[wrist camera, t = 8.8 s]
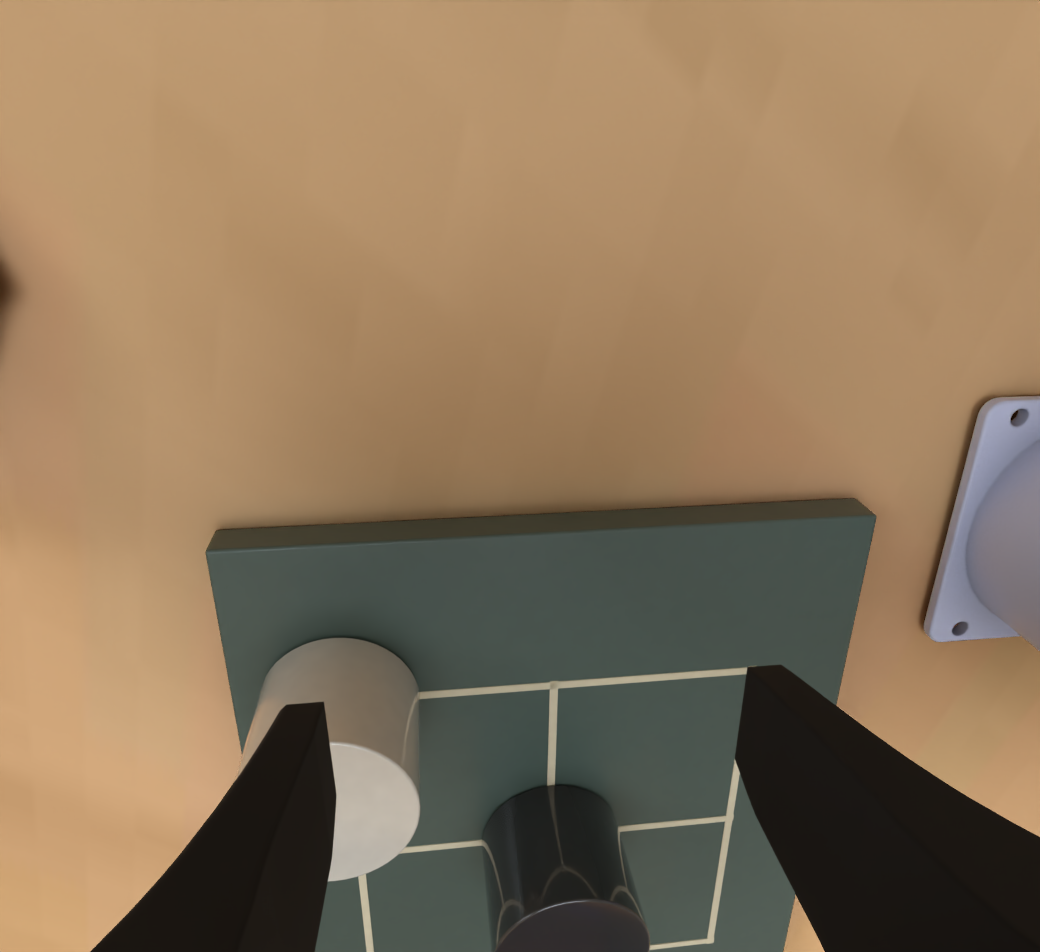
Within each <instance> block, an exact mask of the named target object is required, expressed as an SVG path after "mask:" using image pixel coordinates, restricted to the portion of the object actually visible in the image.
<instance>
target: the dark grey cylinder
mask: <svg viewBox="0 0 1040 952" xmlns="http://www.w3.org/2000/svg"><path fill="white" fill-rule="evenodd" d="M481 846H482V857H483V867H484V878H485V889H486V900H487V911H488V922H489V933H490V944H491V952H649V949H650V935H649V930H648V927H647V923H646V920H645V916H644V913H643V910H642V906H641V903H640V899H639V896H638V893H637V889H636V886H635V882H634V879H633V875H632V872H631V869H630V865H629V862H628V858H627V855H626V852H625V848H624V845H623V841H622V838H621V834H620V831H619V828H618V824H617V821H616V818H615V815H614V813H613V811H612V809H611V808H610V806H609V805H608V804H607V803H606V802H605V801H604V800H603V799H602V798H600V797H599V796H598V795H596V794H594V793H593V792H590V791H588V790H586V789H582V788H579V787H574V786H566V785H552V786H544V787H539V788H535V789H532V790H529V791H526V792H523V793H521V794H519V795H517V796H515V797H513V798H512V799H510V800H508V801H507V802H506V803H504V804H503V805H502V806H501V807H500V808H499V809H497V810H496V811H495V813H494V814H493V815H492V816H491V818H490V819H489V821H488V823H487V824H486V827H485V829H484V832H483V836H482V843H481Z"/></svg>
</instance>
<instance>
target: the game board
mask: <svg viewBox="0 0 1040 952" xmlns="http://www.w3.org/2000/svg"><path fill="white" fill-rule="evenodd" d="M875 522H876V515H875V514H874V513H873V512H872V511H870V510H869V509H868V508H867V507H866V506H864V505H863V504H862V503H861V502H859V501H858V500H857V499H855V498H850V499H830V500H810V501H790V502H770V503H750V504H730V505H710V506H690V507H670V508H650V509H630V510H610V511H591V512H571V513H551V514H531V515H511V516H491V517H471V518H451V519H431V520H411V521H391V522H371V523H351V524H331V525H311V526H291V527H271V528H251V529H231V530H218V531H216V532H215V534H214V536H213V538H212V540H211V542H210V544H209V546H208V548H207V550H206V558H207V563H208V569H209V574H210V580H211V586H212V591H213V597H214V602H215V608H216V613H217V619H218V624H219V630H220V635H221V641H222V646H223V652H224V657H225V663H226V668H227V674H228V679H229V685H230V690H231V696H232V702H233V707H234V713H235V718H236V724H237V729H238V735H239V740H240V746H241V751H242V753H243V750H244V746H245V743H246V739H247V735H248V732H249V728H250V725H251V721H252V718H253V714H254V711H255V707H256V704H257V700H258V696H259V693H260V689H261V686H262V683H263V681H264V679H265V677H266V675H267V674H268V672H269V670H270V669H271V668H272V667H273V666H274V664H275V663H276V662H277V661H278V660H280V659H281V658H282V657H283V656H284V655H286V654H287V653H289V652H290V651H292V650H293V649H295V648H297V647H299V646H301V645H304V644H307V643H310V642H312V641H317V640H321V639H327V638H354V639H360V640H365V641H368V642H371V643H374V644H377V645H379V646H381V647H383V648H385V649H387V650H389V651H390V652H392V653H393V654H395V655H396V656H397V657H398V658H400V659H401V660H402V661H403V662H404V663H405V664H406V665H407V667H408V668H409V670H410V671H411V672H412V674H413V676H414V678H415V680H416V682H417V685H418V688H419V694H420V782H421V811H420V819H419V823H418V826H417V828H416V831H415V833H414V835H413V837H412V838H411V840H410V842H409V843H408V844H407V846H406V847H405V848H404V849H403V850H402V851H401V852H400V853H399V854H398V855H397V856H396V857H395V858H393V859H392V860H391V861H389V862H388V863H386V864H385V865H383V866H381V867H380V868H378V869H376V870H374V871H371V872H369V873H367V874H364V875H361V876H358V877H354V878H350V879H346V880H339V881H330V882H328V883H327V889H326V894H325V900H324V905H323V911H322V916H321V921H320V927H319V932H318V937H317V943H316V948H315V952H491V944H490V933H489V922H488V911H487V900H486V889H485V878H484V867H483V857H482V846H481V843H482V836H483V832H484V829H485V827H486V824H487V823H488V821H489V819H490V818H491V816H492V815H493V814H494V813H495V811H496V810H497V809H499V808H500V807H501V806H502V805H503V804H504V803H506V802H507V801H508V800H510V799H512V798H513V797H515V796H517V795H519V794H521V793H523V792H526V791H529V790H532V789H535V788H539V787H544V786H552V785H566V786H574V787H579V788H582V789H586V790H588V791H590V792H593V793H594V794H596V795H598V796H599V797H600V798H602V799H603V800H604V801H605V802H606V803H607V804H608V805H609V806H610V808H611V809H612V811H613V813H614V815H615V818H616V821H617V824H618V828H619V831H620V834H621V838H622V841H623V845H624V848H625V852H626V855H627V858H628V862H629V865H630V869H631V872H632V875H633V879H634V882H635V886H636V889H637V893H638V896H639V899H640V903H641V906H642V910H643V913H644V916H645V920H646V923H647V927H648V930H649V935H650V949H649V952H783V950H784V946H785V941H786V936H787V932H788V927H789V922H790V918H791V913H792V908H793V904H794V899H795V892H794V890H793V888H792V886H791V884H790V882H789V880H788V878H787V876H786V874H785V873H784V871H783V869H782V867H781V865H780V863H779V861H778V859H777V857H776V855H775V853H774V851H773V849H772V847H771V845H770V843H769V841H768V839H767V837H766V835H765V833H764V831H763V829H762V827H761V825H760V823H759V821H758V819H757V817H756V815H755V813H754V810H753V808H752V805H751V802H750V800H749V797H748V795H747V792H746V789H745V786H744V784H743V781H742V778H741V775H740V772H739V769H738V766H737V764H736V761H735V752H736V745H737V738H738V730H739V723H740V716H741V709H742V702H743V695H744V688H745V680H746V673H747V667H755V666H768V665H780V664H781V665H783V666H784V667H785V668H787V669H788V670H790V671H791V672H792V673H794V674H795V675H797V676H798V677H799V678H801V679H802V680H803V681H805V682H806V683H807V684H808V685H810V686H811V687H812V688H814V689H815V690H816V691H818V692H819V693H820V694H822V695H823V696H824V697H825V698H827V699H828V700H829V701H831V702H832V703H833V704H835V705H836V704H837V699H838V694H839V690H840V685H841V680H842V676H843V671H844V666H845V662H846V657H847V652H848V648H849V643H850V638H851V634H852V629H853V624H854V620H855V615H856V611H857V606H858V601H859V597H860V592H861V587H862V583H863V578H864V573H865V569H866V564H867V559H868V555H869V550H870V545H871V541H872V536H873V531H874V527H875Z"/></svg>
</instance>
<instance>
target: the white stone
mask: <svg viewBox="0 0 1040 952" xmlns="http://www.w3.org/2000/svg"><path fill="white" fill-rule="evenodd" d="M312 702H324V706H325V713H326V720H327V728H328V735H329V743H330V750H331V757H332V765H333V772H334V780H335V787H336V794H337V798H336V813H335V827H334V840H333V853H332V861H331V867H330V872H329V878H328V882H330V881H339V880H346V879H350V878H354V877H358V876H361V875H364V874H367V873H369V872H371V871H374V870H376V869H378V868H380V867H381V866H383V865H385V864H386V863H388V862H389V861H391V860H392V859H393V858H395V857H396V856H397V855H398V854H399V853H400V852H401V851H402V850H403V849H404V848H405V847H406V846H407V844H408V843H409V842H410V840H411V838H412V837H413V835H414V833H415V831H416V828H417V826H418V823H419V819H420V811H421V782H420V694H419V688H418V685H417V682H416V680H415V678H414V676H413V674H412V672H411V671H410V670H409V668H408V667H407V665H406V664H405V663H404V662H403V661H402V660H401V659H400V658H398V657H397V656H396V655H395V654H393V653H392V652H390V651H389V650H387V649H385V648H383V647H381V646H379V645H377V644H374V643H371V642H368V641H365V640H360V639H354V638H327V639H321V640H317V641H312V642H310V643H307V644H304V645H301V646H299V647H297V648H295V649H293V650H292V651H290V652H289V653H287V654H286V655H284V656H283V657H282V658H281V659H280V660H278V661H277V662H276V663H275V664H274V666H273V667H272V668H271V669H270V670H269V672H268V674H267V675H266V677H265V679H264V681H263V683H262V686H261V689H260V693H259V696H258V700H257V704H256V707H255V711H254V714H253V718H252V721H251V725H250V728H249V732H248V735H247V739H246V743H245V746H244V750H243V753H242V757H241V760H240V764H239V767H238V771H237V774H236V778H235V780H236V779H237V778H238V776H239V775H240V773H241V772H242V770H243V769H244V767H245V766H246V764H247V763H248V761H249V760H250V758H251V757H252V755H253V754H254V752H255V751H256V749H257V748H258V746H259V744H260V743H261V741H262V740H263V738H264V736H265V735H266V733H267V731H268V730H269V728H270V727H271V725H272V723H273V722H274V720H275V718H276V716H277V715H278V713H279V711H280V710H281V709H282V708H283V707H284V706H285V705H287V704H300V703H312ZM234 782H235V781H234Z"/></svg>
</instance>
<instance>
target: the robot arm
mask: <svg viewBox="0 0 1040 952" xmlns="http://www.w3.org/2000/svg"><path fill="white" fill-rule="evenodd" d="M1017 410H1018V414H1017V416H1016V418H1014V419H1013V420H1012V421H1011V416H1012V415H1013V413H1014V412H1015V411H1017ZM957 623H958V625H957V626H955V627H954V625H956V624H957ZM953 627H954V628H953ZM924 631H925V633H926V634H927V635H928V636H929V637H930V638H931V639H932V640H934V641H935V642H949V641H962V640H976V639H989V638H1003V637H1016V636H1022V637H1023V638H1024V639H1025V640H1027V641H1028V642H1029V643H1030V644H1031V645H1033V646H1034V647H1035V648H1036V649H1038V650H1039V651H1040V396H1020V397H998V398H993V399H991V400H989V401H988V402H986V403H985V404H984V405H983V406H982V408H981V409H980V411H979V414H978V416H977V420H976V424H975V428H974V432H973V436H972V440H971V443H970V447H969V451H968V455H967V459H966V463H965V467H964V471H963V474H962V478H961V482H960V486H959V490H958V494H957V498H956V501H955V505H954V509H953V513H952V517H951V521H950V525H949V529H948V532H947V536H946V540H945V544H944V548H943V552H942V556H941V559H940V563H939V567H938V571H937V575H936V579H935V583H934V587H933V590H932V594H931V598H930V602H929V606H928V610H927V614H926V617H925V621H924ZM735 761H736V764H737V766H738V769H739V772H740V775H741V778H742V781H743V784H744V786H745V789H746V792H747V795H748V797H749V800H750V802H751V805H752V808H753V810H754V813H755V815H756V817H757V819H758V821H759V823H760V825H761V827H762V829H763V831H764V833H765V835H766V837H767V839H768V841H769V843H770V845H771V847H772V849H773V851H774V853H775V855H776V857H777V859H778V861H779V863H780V865H781V867H782V869H783V871H784V873H785V874H786V876H787V878H788V880H789V882H790V884H791V886H792V888H793V890H794V892H795V894H796V896H797V898H798V900H799V902H800V903H801V905H802V907H803V909H804V911H805V913H806V915H807V917H808V919H809V921H810V923H811V925H812V927H813V929H814V931H815V933H816V934H817V936H818V938H819V940H820V942H821V945H822V947H823V949H824V951H825V952H1040V837H1039V836H1037V835H1035V834H1033V833H1031V832H1029V831H1027V830H1025V829H1023V828H1022V827H1020V826H1018V825H1016V824H1014V823H1012V822H1010V821H1009V820H1007V819H1005V818H1003V817H1002V816H1000V815H998V814H997V813H995V812H993V811H991V810H990V809H988V808H986V807H984V806H983V805H981V804H979V803H978V802H976V801H974V800H972V799H971V798H969V797H967V796H966V795H964V794H962V793H961V792H959V791H957V790H956V789H954V788H953V787H951V786H949V785H948V784H946V783H945V782H943V781H942V780H940V779H939V778H937V777H936V776H934V775H933V774H931V773H930V772H928V771H927V770H925V769H923V768H922V767H920V766H919V765H917V764H916V763H914V762H913V761H911V760H910V759H908V758H907V757H906V756H904V755H903V754H901V753H900V752H898V751H897V750H896V749H894V748H893V747H891V746H890V745H888V744H887V743H886V742H884V741H883V740H882V739H880V738H879V737H877V736H876V735H875V734H873V733H872V732H871V731H869V730H868V729H866V728H865V727H864V726H862V725H861V724H860V723H858V722H857V721H856V720H854V719H853V718H852V717H850V716H849V715H848V714H846V713H845V712H844V711H842V710H841V709H840V708H839V707H837V706H836V705H835V704H833V703H832V702H831V701H829V700H828V699H827V698H825V697H824V696H823V695H822V694H820V693H819V692H818V691H816V690H815V689H814V688H812V687H811V686H810V685H808V684H807V683H806V682H805V681H803V680H802V679H801V678H799V677H798V676H797V675H795V674H794V673H792V672H791V671H790V670H788V669H787V668H785V667H784V666H783V665H781V664H780V665H768V666H755V667H747V673H746V680H745V688H744V695H743V702H742V709H741V716H740V723H739V730H738V738H737V745H736V752H735ZM336 798H337V794H336V787H335V780H334V772H333V765H332V757H331V750H330V743H329V735H328V728H327V720H326V713H325V706H324V702H312V703H300V704H287V705H285V706H284V707H283V708H282V709H281V710H280V711H279V713H278V715H277V716H276V718H275V720H274V722H273V723H272V725H271V727H270V728H269V730H268V731H267V733H266V735H265V736H264V738H263V740H262V741H261V743H260V744H259V746H258V748H257V749H256V751H255V752H254V754H253V755H252V757H251V758H250V760H249V761H248V763H247V764H246V766H245V767H244V769H243V770H242V772H241V773H240V775H239V776H238V778H237V779H236V780H235V782H234V783H233V785H232V786H231V788H230V789H229V790H228V792H227V793H226V795H225V796H224V798H223V799H222V800H221V802H220V803H219V805H218V806H217V807H216V809H215V810H214V811H213V813H212V814H211V815H210V817H209V818H208V819H207V821H206V822H205V823H204V824H203V826H202V827H201V828H200V830H199V831H198V832H197V833H196V835H195V836H194V837H193V839H192V840H191V841H190V842H189V844H188V845H187V846H186V847H185V849H184V850H183V851H182V853H181V854H180V855H179V856H178V858H177V859H176V860H175V861H174V862H173V863H172V865H171V866H170V867H169V868H168V869H167V871H166V872H165V873H164V874H163V875H162V876H161V878H160V879H159V880H158V881H157V882H156V883H155V884H154V886H153V887H152V888H151V889H150V890H149V891H148V892H147V893H146V894H145V896H144V897H143V898H142V899H141V900H140V901H139V902H138V903H137V904H136V905H135V907H134V908H133V909H132V910H131V911H130V912H129V913H128V914H127V915H126V916H125V917H124V918H123V919H122V920H121V921H120V922H119V923H118V924H117V925H116V926H115V927H114V928H113V929H112V930H111V931H110V932H109V933H108V934H107V935H106V936H105V937H104V938H103V939H102V940H101V941H100V942H99V943H98V944H97V946H96V947H95V948H94V949H93V950H92V951H91V952H315V948H316V943H317V937H318V932H319V927H320V921H321V916H322V911H323V905H324V900H325V894H326V889H327V883H328V878H329V872H330V867H331V861H332V853H333V840H334V827H335V813H336Z"/></svg>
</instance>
